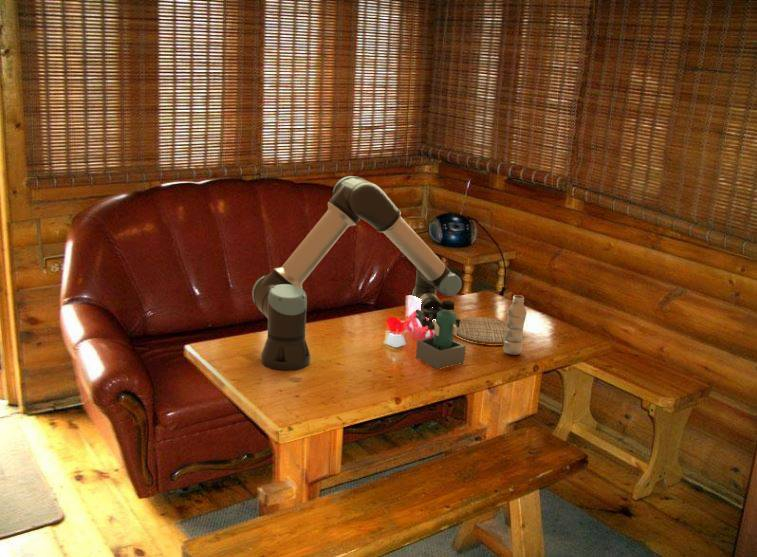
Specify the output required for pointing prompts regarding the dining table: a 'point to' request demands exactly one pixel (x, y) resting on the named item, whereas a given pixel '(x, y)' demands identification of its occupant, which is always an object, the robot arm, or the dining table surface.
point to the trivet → (482, 330)
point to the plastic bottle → (515, 326)
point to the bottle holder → (440, 353)
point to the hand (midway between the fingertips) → (446, 331)
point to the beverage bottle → (444, 326)
